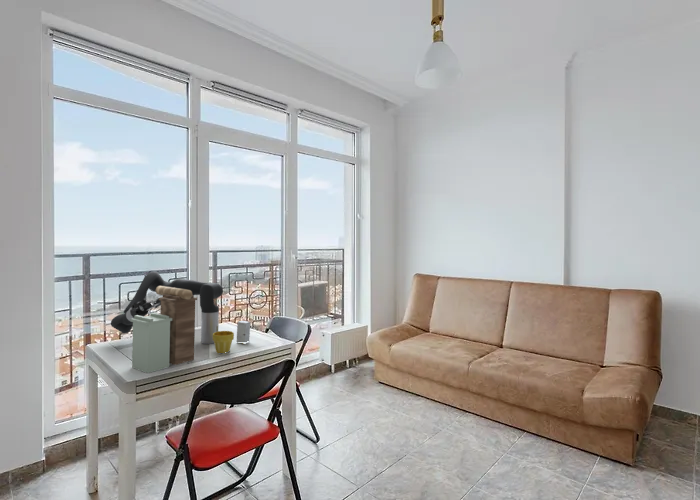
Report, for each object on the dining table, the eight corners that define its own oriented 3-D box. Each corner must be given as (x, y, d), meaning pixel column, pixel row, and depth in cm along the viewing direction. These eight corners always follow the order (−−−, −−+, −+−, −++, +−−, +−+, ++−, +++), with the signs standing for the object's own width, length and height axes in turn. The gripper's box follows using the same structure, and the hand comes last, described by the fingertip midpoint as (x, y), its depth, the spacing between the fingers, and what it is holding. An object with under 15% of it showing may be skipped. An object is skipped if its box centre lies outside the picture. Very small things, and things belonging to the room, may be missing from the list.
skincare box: (236, 343, 214) (236, 321, 214) (241, 341, 219) (241, 320, 218) (245, 344, 212) (245, 323, 212) (250, 342, 216) (250, 321, 216)
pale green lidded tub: (129, 368, 169) (130, 316, 169) (155, 361, 179) (156, 312, 179) (145, 373, 163) (146, 319, 162) (171, 366, 173) (172, 315, 173)
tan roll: (156, 295, 187) (154, 287, 186) (164, 293, 191) (163, 284, 190) (184, 300, 176) (183, 291, 175) (193, 297, 179) (191, 288, 178)
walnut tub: (157, 360, 180) (158, 295, 180) (180, 354, 191) (181, 292, 190) (173, 365, 174) (174, 297, 173) (195, 359, 184) (197, 294, 184)
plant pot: (227, 355, 192) (227, 336, 191) (208, 353, 194) (208, 334, 193) (236, 349, 202) (237, 331, 202) (218, 348, 204) (219, 330, 203)
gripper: (121, 307, 194) (137, 294, 187) (148, 304, 206) (164, 291, 199) (125, 321, 192) (141, 308, 185) (152, 316, 205) (168, 304, 197)
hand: (153, 299), depth 192 cm, fingers open, 8 cm apart
